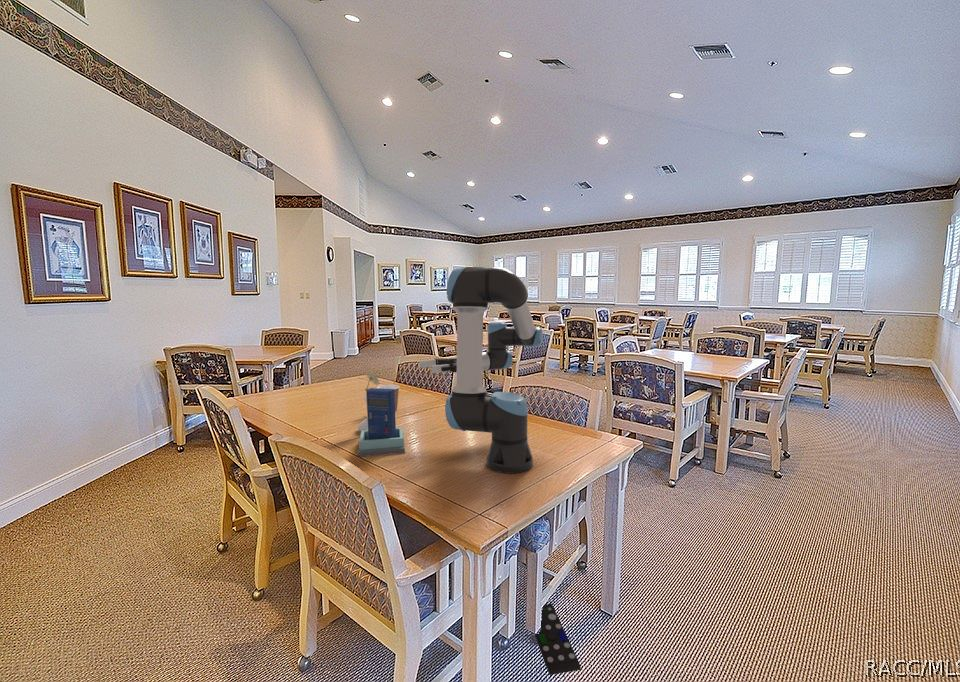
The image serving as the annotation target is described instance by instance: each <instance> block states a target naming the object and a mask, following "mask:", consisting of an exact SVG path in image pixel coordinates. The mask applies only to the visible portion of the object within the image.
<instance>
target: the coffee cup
mask: <svg viewBox="0 0 960 682" xmlns="http://www.w3.org/2000/svg"><path fill="white" fill-rule="evenodd" d="M376 388H383V389H394V398H395V414H396V413H397V412H398V411H397V410H398V404H399V403H398V402H399V401H398V400H399V390H400V389H399V388H400V385H398V384H383V385H378V386H377V387H376Z"/></svg>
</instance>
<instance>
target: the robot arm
mask: <svg viewBox="0 0 960 682" xmlns="http://www.w3.org/2000/svg"><path fill="white" fill-rule="evenodd" d="M446 296H447V297H446V298H447V301H448V302H450V303H451V304H452V308H453V310H454V311H455V312H456V313H457V314H456V315H457V316H456V317H457V318H456V320H457V321H456V326H457V327H456V331H457V332H456V358H455V357H454V358H434V359H425V360H419V369H421V368H422V369H423V368H431V373H432V374H439V373H449V372H450V373H455V374H456V382H455V383H456V385H455V386H454V387H453V388H451V393H450V394H448V395H447V396H446V400H445V402H446V403H445V405H444V406H445V407H444V410H445V418H446V421H447V423H448V425H449V427H450V428H451V429H454V430H457V431H462V432H466V431H468V432H479V433H490V434H491V443H490V446H489V449H488V452H487V455H486V466H487V467H488V468H489V469H490V470H492V471H494V472H498V473H503V474H517V473H523V472H526V471H528V470H530V469H532V467H533V465H534V457H533V455H532V451H531V448H530V445H529V442H528V415H529V411H528V402H527V400H526V398H525V396H522V395H520V394H518V393H514V392H509V391H495V392H493V393H491V395H490V396H489V395H488V394H487V393H488V390H487V389H486V388H485V387H484V386H483V373H484V372H485V371H497V370H503V369H504V370H506V369H509V368H510V367H512V364H513V354H512V352H511V351H510V350H508V349H507V346H512V347H513V346H514V347H516V346H517V347H532V348H533V347H540V346H541V345H542V344H543V337H544V336H543V334H544V333H543V329H542V327H537V326H535V324H534V321H533V317H532V314H531V311H530V307H529V303H528V298H529V293H528V290H527V287H526V285H525V283H524V282H523V281H522V280H521V278H519V277H518V275H516V274H515V273H514V272H513V271H511V270H509V269H508V268H504V267H501V266H465V267H457V268H455V269H453V270H452V271H451V273H450V274H449V276H448V278H447V283H446ZM490 303H492V304H493V303H500V304H501V306H503V307H504V308H505V309H506V311H507V313H508V316H509V318H510V321H511V323H512V326H507V322H504V321H491V322H489V323H488V324H487V325H488V326H487V345H488V346H487V351H484V350H483V349H484V313H485V312H486V311H487V310H488V309H489V304H490Z"/></svg>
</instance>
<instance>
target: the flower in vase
mask: <svg viewBox="0 0 960 682" xmlns="http://www.w3.org/2000/svg"><path fill="white" fill-rule="evenodd" d="M364 372H365V375H366V377H367V378H368V383H367V387H365V388H364V389H365V390H364V391H366V390H368V389H369V385H370V383H372V384H374V385H377V386H379V385H380V380H379V378H378V377H377V374H375V373H374V372H373V371H372V370H369V369H367V370H365V371H364ZM363 399H364V400H365V402H366V403H367V396H366V397H364V398H363ZM357 430H358V431H359V432H361V431H364V430H368V416H367V417H366V418H364V419H363V420H362V421H361V422H360V423H359V424H358V426H357Z"/></svg>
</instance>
